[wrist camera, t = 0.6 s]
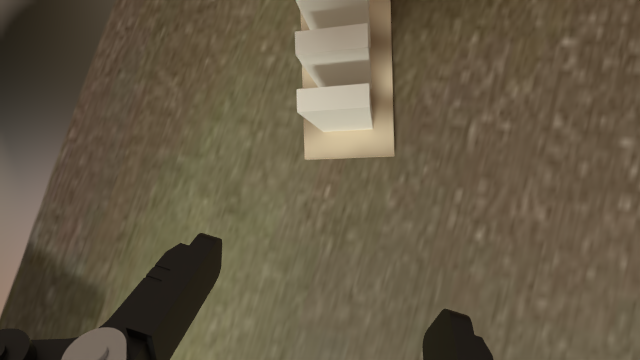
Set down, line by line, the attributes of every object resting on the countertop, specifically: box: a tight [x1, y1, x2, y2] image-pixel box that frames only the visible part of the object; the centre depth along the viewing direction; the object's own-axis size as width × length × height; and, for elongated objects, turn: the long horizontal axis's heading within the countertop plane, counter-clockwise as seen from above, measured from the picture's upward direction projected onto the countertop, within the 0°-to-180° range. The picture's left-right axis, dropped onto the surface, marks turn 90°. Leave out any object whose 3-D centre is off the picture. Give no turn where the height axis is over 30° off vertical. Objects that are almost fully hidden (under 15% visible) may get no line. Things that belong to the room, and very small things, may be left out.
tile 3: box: [296, 0, 371, 48], centre depth 26 cm, size 2×5×10 cm, turn 92°
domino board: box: [301, 0, 394, 160], centre depth 31 cm, size 23×9×1 cm, turn 2°
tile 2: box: [295, 23, 372, 89], centre depth 26 cm, size 2×5×10 cm, turn 92°
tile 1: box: [297, 83, 373, 132], centre depth 26 cm, size 2×5×10 cm, turn 92°
